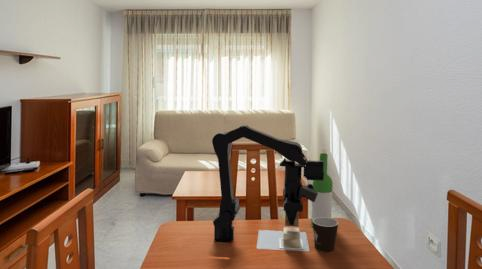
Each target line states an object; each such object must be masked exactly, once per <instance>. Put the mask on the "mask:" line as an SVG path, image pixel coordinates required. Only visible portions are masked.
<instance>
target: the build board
mask: <svg viewBox="0 0 482 269" xmlns="http://www.w3.org/2000/svg"><path fill="white" fill-rule="evenodd" d="M257 233H258V234H257V240H256V249H257V250H258V249H259V250H274V251H275V250H276V251H278V250H279V251H291V252H292V251H294V252H311V251H310V248H309V242H308V237H307V232H305V231H300V247H299V248H292V247H283V230H270V229H269V230H268V229H267V230H265V229H258V232H257Z"/></svg>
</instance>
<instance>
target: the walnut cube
mask: <svg viewBox="0 0 482 269" xmlns="http://www.w3.org/2000/svg"><path fill="white" fill-rule="evenodd" d="M284 214H285V216H284V225H285V227H294V228H299V227H300V226H299V223H300V222H299V220H300V212H297V214H296V217H295V221H294V225H290V223H289V220H288V218H287V215H286V213H285V212H284Z"/></svg>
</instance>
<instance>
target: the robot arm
mask: <svg viewBox="0 0 482 269" xmlns="http://www.w3.org/2000/svg"><path fill="white" fill-rule="evenodd" d="M243 138H244V139H247V140H249V141H251V142H255V143H256V144H259V145H261V146H264V147H267V148H268V149H272V150H274V152H277V153H278V154H279V155H281V156H282V157H284V158H283V160H281V161H280V162H279V167H284V179H283V184H284V185H283V186H284V187H283V189H282V197H283V198H282V200H283V211H284V214H285V213H286V215H287V218H288V220H289V223H290V225H294V221H295V217H296V214H297V212H299V213H300V212H304V204H303V201H301V200H302V199H303V198H304V199H306V200H308V201H310V202H311V203H312V202H315V199H316V197H317V195H318V193H317V191H316V190H315V189H313V183H308V184H306V185H303V182H302V177H304V178H305V179H306V181H313V180H317V181H323V179H324V171H323V161H321V160H320V159H319V160H308V158H307V157H306V156H305V154H304V153H303V147H302V145H301V144H300V143H299V142H297V141H293V140H286V139H280V138H278V137H275V136H273V135H270V134H267V133H265V132H264V131H260V130H257V129H255V128H253V127H250V126H249V125H247V124H242V125H241V126H239V127H236V128H235V129H232V130H230V131H223V130H222V131H220V132H218V133H216V134H215V135H214V136H213V137H212V140H211V142H212V147H213V150H214V153H215V156H216V158H217V162H218V164H217V165H218V174H219V183H220V193H221V195H220V196H221V199H220V203H219V204H220V205H219V212H218V214H217V215H216V217H215V218H214V220H213V221H212V223H213V224H212V225H213V226H214V234H213V235H214V238H213V242H214V243H232V241H233V240H234V238H235V226H233V222H234V221H235V219H236V217H237V215H238V212H239V211H240V209H241V207H240V204H239V203H240V198H236V197H235V195H234V188H233V178H232V176H233V175H232V167H231V166H232V165H231V153H232V152H231V151H232V148H233V147H232V146H233V142H236V141H238V140H240V139H243ZM302 168H303V171H302ZM302 172H303V175H302Z"/></svg>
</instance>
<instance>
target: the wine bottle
mask: <svg viewBox="0 0 482 269" xmlns="http://www.w3.org/2000/svg"><path fill="white" fill-rule="evenodd" d="M319 160H321V161H323V171H324V179H323V181H317V180H312V185H313V189H315V190H316V191H317V193H318V195H317V197H316V199H315V202H312V201H311V213H310V214H311V217H310V218H311V219H310V222H311V223H310V225H311V227H312V228H313V219H314V218H318V217H327V218H332V210H333V207H332V206H333V205H332V204H333V186H334V185H333V180H332V178H331V176H330V175H329V174H328V153H323V152H322V153H319Z"/></svg>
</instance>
